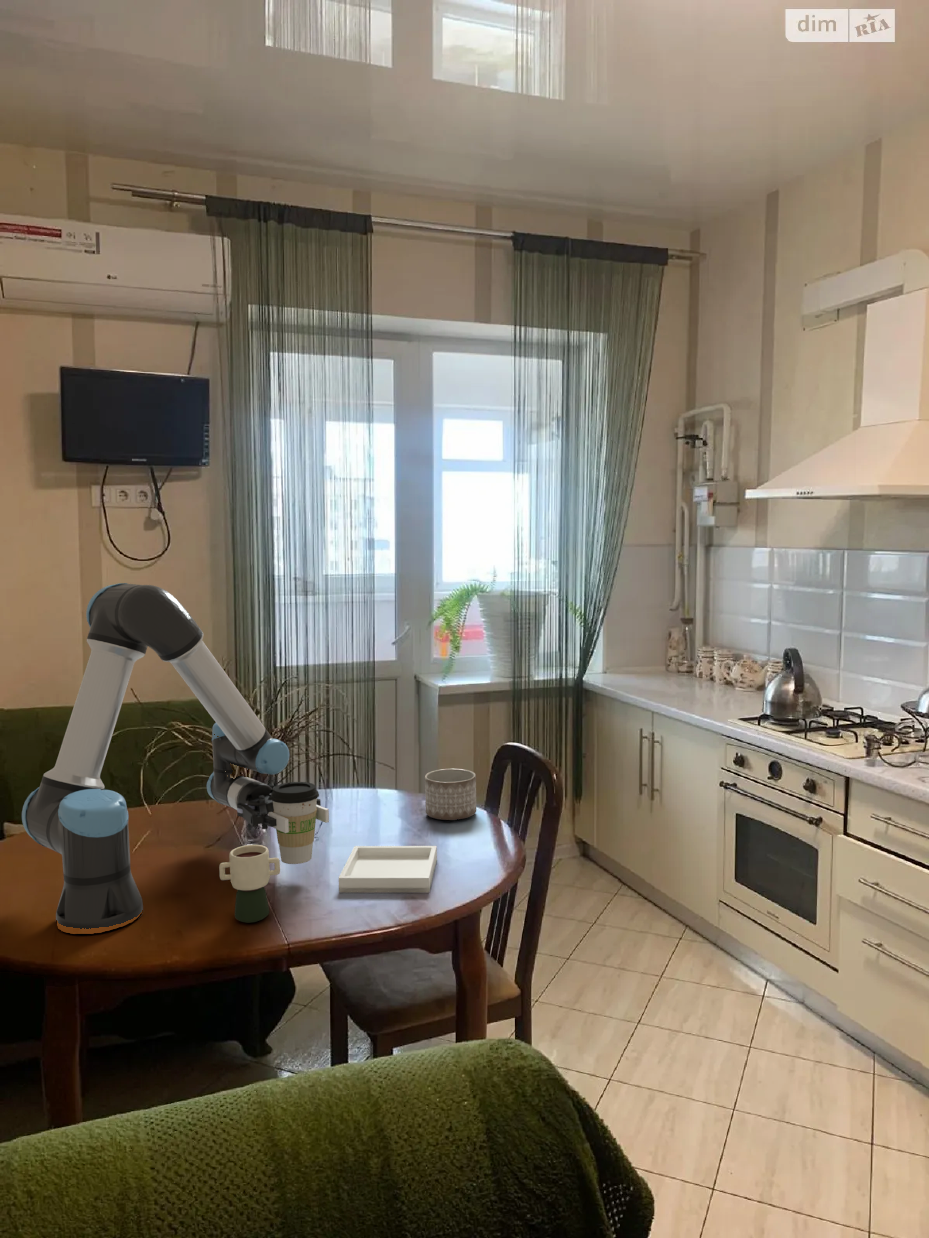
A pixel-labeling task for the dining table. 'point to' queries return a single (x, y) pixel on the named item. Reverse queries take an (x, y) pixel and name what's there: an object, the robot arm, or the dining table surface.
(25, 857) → the dining table surface
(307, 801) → the coffee cup
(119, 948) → the dining table surface
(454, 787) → the planter
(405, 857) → the tray
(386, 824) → the dining table surface
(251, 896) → the character mug
